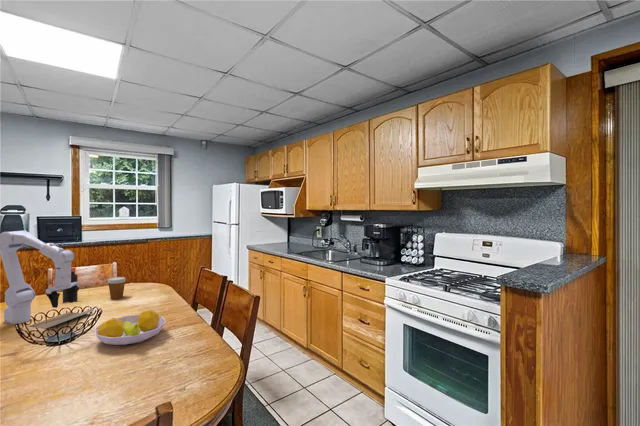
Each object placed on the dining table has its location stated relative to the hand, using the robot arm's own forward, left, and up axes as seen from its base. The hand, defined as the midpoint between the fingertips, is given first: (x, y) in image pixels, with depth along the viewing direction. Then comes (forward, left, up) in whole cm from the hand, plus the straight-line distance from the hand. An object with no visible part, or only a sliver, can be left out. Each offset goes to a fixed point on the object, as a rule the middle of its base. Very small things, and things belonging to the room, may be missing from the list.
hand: (63, 304), depth 149 cm
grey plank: (+1, +2, -8) cm, 8 cm away
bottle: (-28, +29, -10) cm, 42 cm away
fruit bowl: (+43, -7, -10) cm, 44 cm away
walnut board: (-7, +2, -10) cm, 12 cm away
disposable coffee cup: (-9, +42, -10) cm, 44 cm away
